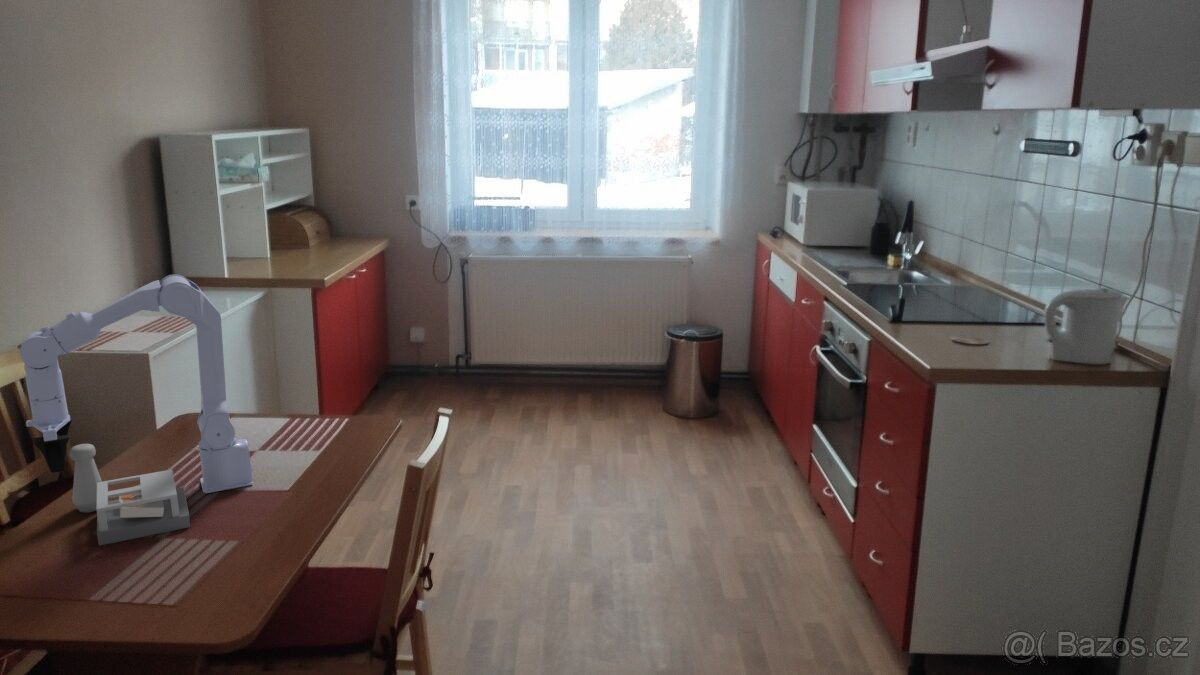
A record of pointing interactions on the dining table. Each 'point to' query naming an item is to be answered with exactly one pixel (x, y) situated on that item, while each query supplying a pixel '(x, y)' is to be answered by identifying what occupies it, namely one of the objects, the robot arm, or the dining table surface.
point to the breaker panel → (151, 490)
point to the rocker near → (142, 509)
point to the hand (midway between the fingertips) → (58, 464)
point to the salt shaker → (85, 478)
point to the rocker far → (131, 495)
